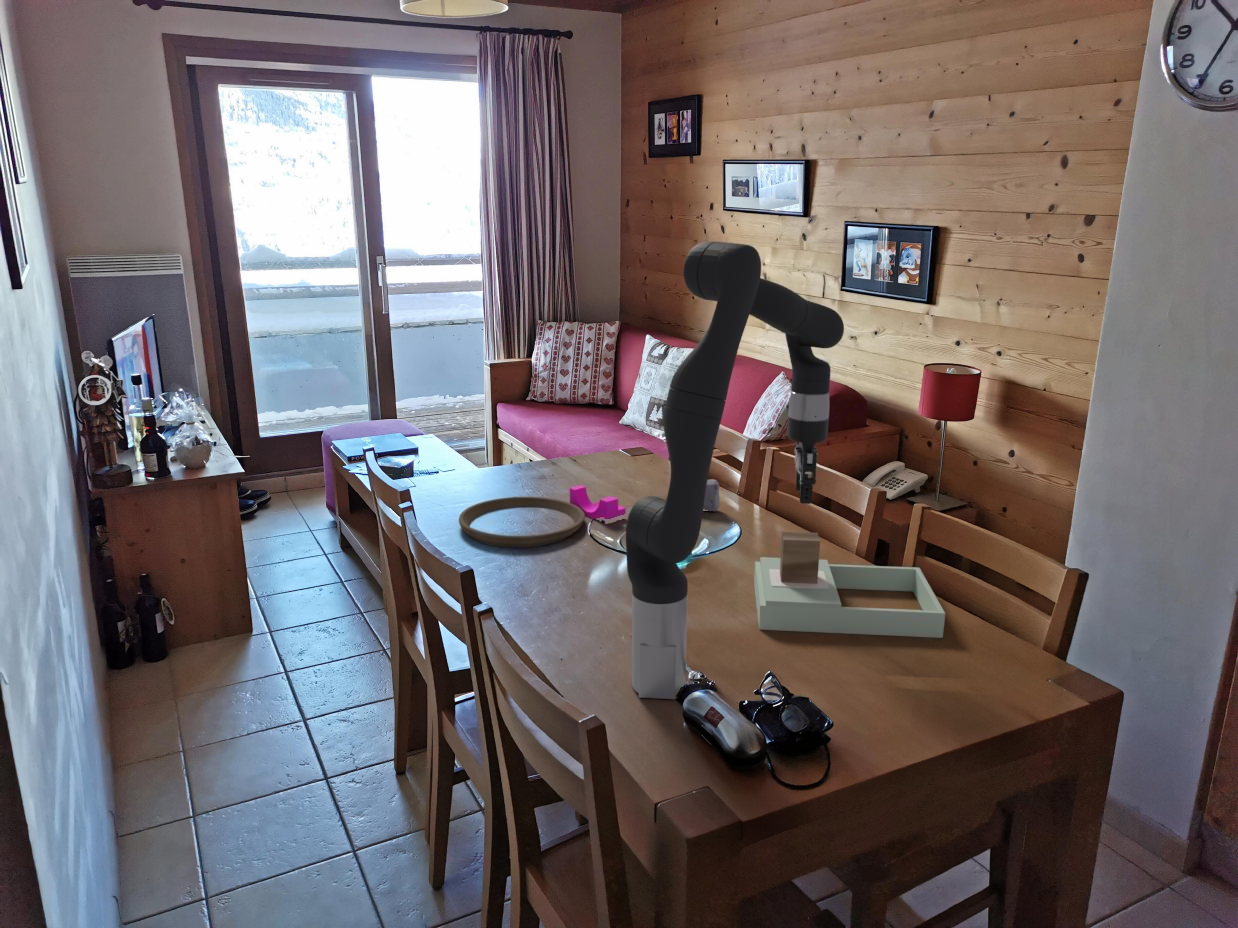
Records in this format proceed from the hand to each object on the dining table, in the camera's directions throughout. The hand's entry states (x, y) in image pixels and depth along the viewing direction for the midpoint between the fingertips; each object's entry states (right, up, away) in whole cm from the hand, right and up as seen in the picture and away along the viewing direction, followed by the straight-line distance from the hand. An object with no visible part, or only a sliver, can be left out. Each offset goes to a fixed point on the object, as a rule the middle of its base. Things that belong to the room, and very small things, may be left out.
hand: (803, 496), depth 174 cm
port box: (+9, -23, +5) cm, 25 cm away
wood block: (0, -17, +4) cm, 17 cm away
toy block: (-41, -8, +57) cm, 71 cm away
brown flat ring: (-60, -11, +49) cm, 78 cm away
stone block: (-15, -7, +60) cm, 62 cm away
